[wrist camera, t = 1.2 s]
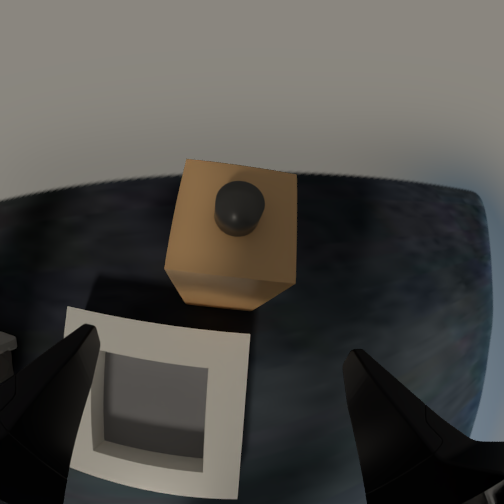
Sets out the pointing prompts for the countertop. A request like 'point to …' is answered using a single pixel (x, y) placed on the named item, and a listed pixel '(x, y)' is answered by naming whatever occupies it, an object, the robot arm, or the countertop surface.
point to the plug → (233, 235)
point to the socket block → (163, 407)
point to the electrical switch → (6, 355)
